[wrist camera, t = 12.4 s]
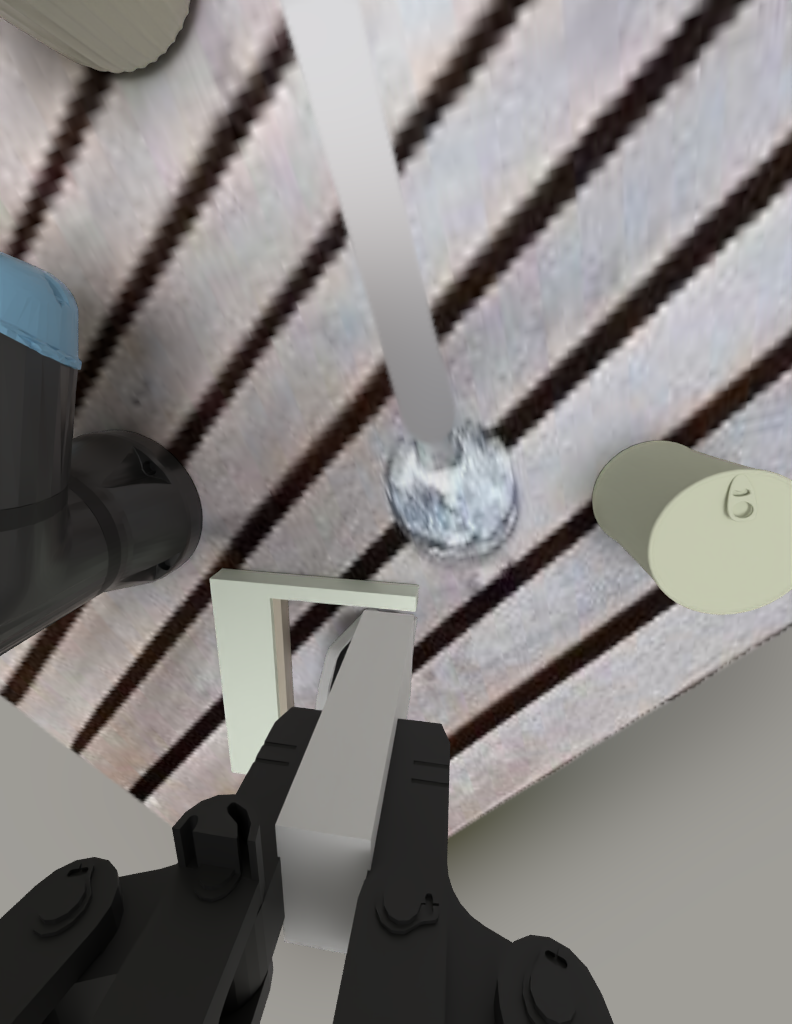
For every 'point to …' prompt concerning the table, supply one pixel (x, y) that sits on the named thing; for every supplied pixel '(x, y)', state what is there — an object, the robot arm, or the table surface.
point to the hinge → (338, 661)
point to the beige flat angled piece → (273, 643)
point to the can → (700, 525)
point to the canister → (101, 29)
